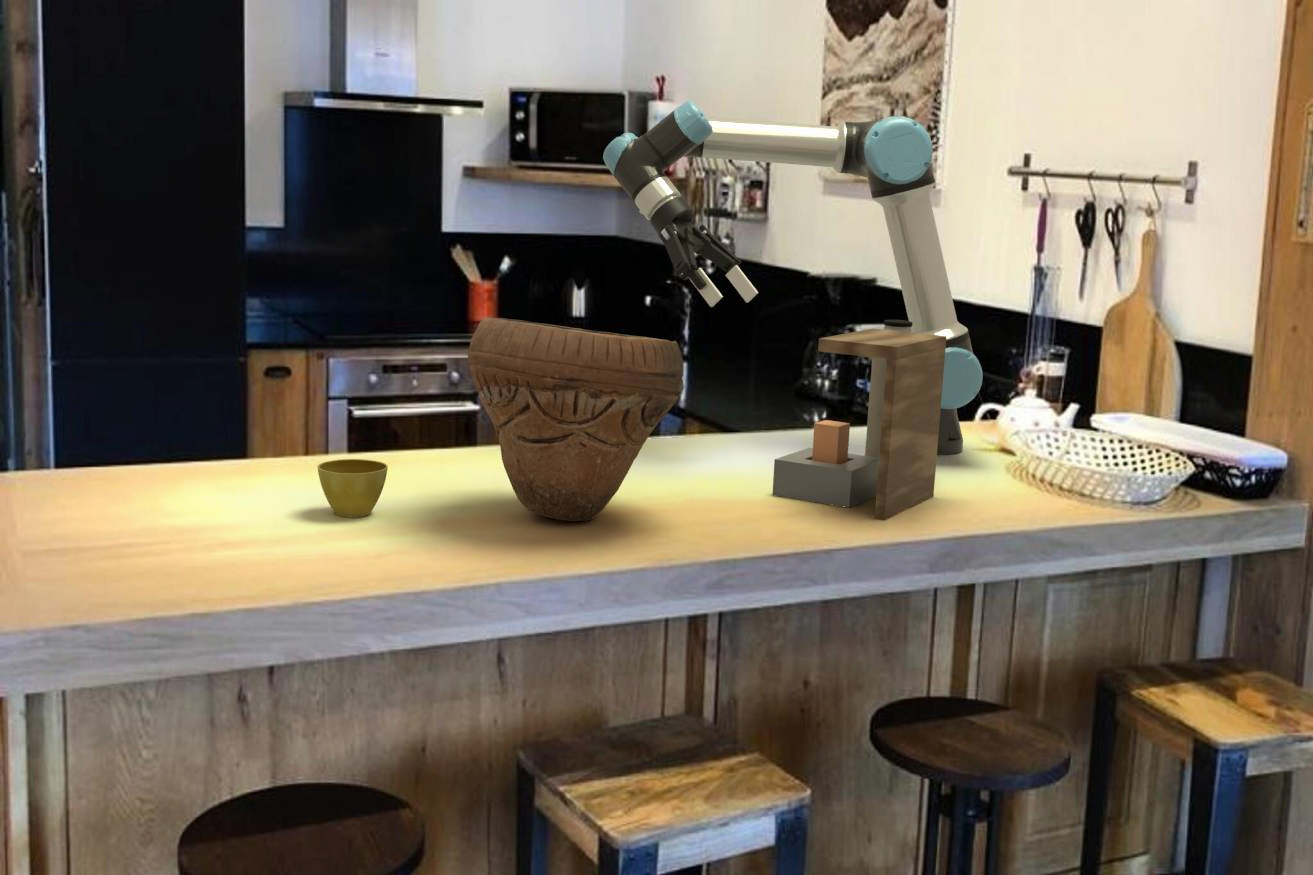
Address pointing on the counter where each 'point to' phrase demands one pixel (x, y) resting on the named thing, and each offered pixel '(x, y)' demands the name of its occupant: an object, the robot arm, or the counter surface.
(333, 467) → the flower pot
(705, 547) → the counter surface
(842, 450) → the peg
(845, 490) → the socket
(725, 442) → the counter surface
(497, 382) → the pot
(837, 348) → the wooden l-shaped bracket
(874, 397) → the thermos bottle
